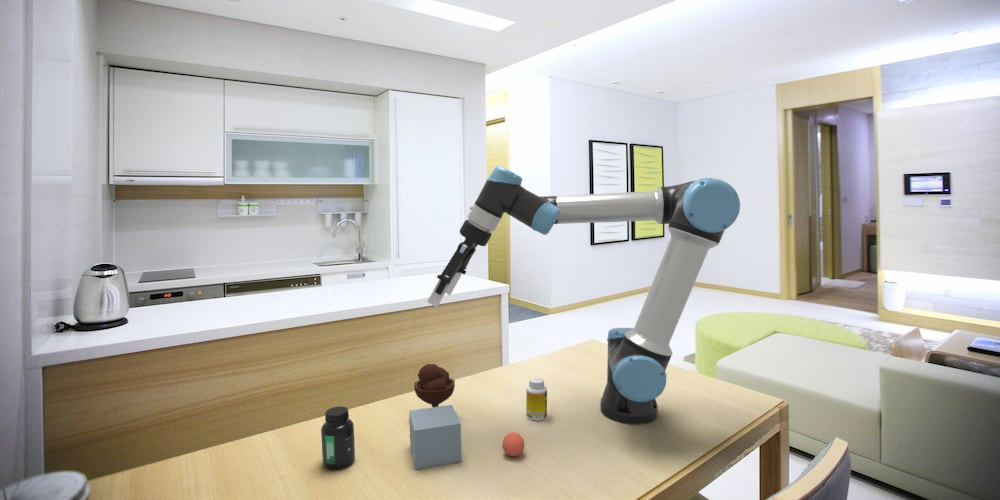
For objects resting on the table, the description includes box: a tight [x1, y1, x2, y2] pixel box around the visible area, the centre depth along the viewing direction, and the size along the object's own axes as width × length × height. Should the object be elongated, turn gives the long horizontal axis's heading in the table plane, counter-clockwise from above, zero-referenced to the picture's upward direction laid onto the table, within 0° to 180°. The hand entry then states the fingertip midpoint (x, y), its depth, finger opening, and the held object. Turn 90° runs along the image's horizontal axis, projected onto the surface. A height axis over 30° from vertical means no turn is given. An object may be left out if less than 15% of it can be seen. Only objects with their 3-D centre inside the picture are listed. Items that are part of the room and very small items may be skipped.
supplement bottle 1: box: [320, 405, 356, 471], centre depth 103 cm, size 7×7×12 cm
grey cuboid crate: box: [408, 404, 463, 470], centre depth 106 cm, size 10×10×9 cm
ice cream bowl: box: [413, 363, 456, 407], centre depth 124 cm, size 11×11×15 cm
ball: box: [501, 432, 525, 457], centre depth 106 cm, size 5×5×5 cm
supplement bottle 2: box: [525, 377, 548, 422], centre depth 124 cm, size 6×6×10 cm
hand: (439, 298), depth 118 cm, fingers open, 13 cm apart
